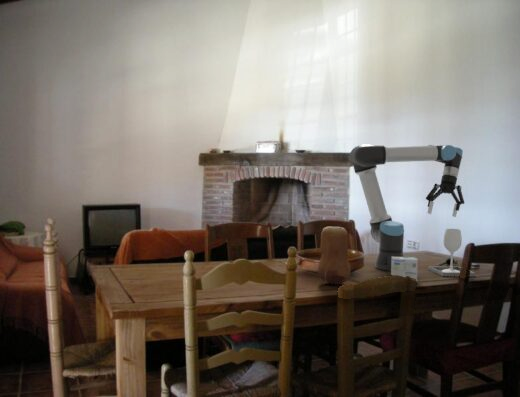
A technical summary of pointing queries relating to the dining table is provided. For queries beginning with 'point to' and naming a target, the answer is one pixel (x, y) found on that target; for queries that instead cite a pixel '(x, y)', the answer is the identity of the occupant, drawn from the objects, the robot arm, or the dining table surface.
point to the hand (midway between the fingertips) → (441, 215)
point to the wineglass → (452, 245)
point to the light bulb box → (404, 266)
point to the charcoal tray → (439, 271)
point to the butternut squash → (334, 256)
